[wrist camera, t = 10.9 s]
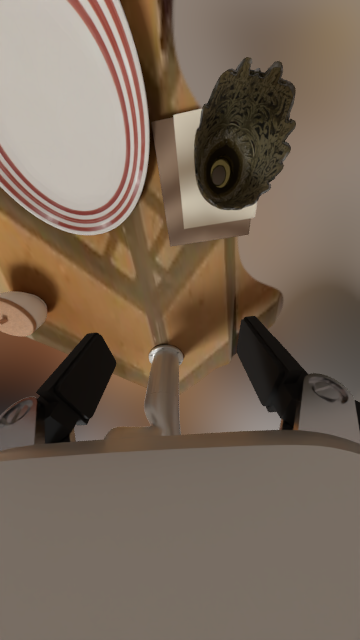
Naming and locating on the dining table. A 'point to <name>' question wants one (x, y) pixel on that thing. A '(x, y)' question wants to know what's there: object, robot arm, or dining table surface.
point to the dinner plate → (72, 112)
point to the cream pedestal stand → (191, 186)
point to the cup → (243, 135)
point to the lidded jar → (21, 313)
